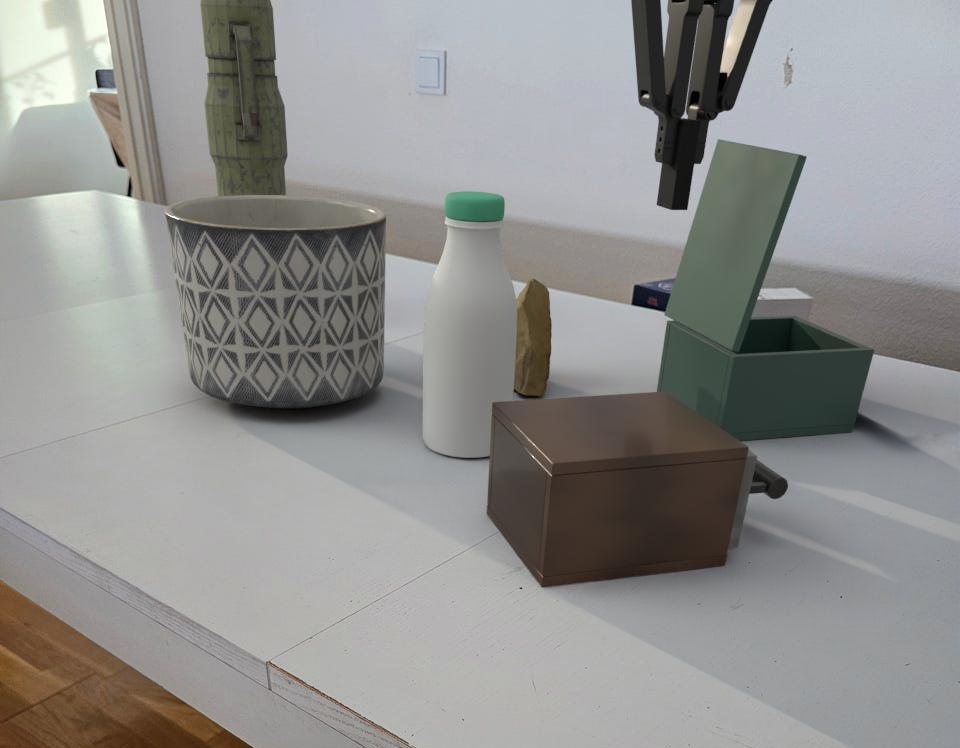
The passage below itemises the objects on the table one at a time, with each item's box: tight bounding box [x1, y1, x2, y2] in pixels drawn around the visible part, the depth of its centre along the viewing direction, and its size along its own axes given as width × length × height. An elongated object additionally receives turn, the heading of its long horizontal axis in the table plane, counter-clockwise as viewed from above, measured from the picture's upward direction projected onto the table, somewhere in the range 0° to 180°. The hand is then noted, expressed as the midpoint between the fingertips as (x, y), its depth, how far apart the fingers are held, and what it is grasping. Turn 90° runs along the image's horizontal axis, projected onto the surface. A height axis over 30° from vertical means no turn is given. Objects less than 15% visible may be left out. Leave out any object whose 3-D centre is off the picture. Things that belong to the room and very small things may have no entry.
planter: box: [164, 194, 387, 410], centre depth 87 cm, size 19×19×16 cm
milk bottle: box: [422, 190, 517, 459], centre depth 76 cm, size 8×8×20 cm
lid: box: [664, 138, 807, 352], centre depth 82 cm, size 15×13×1 cm
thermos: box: [199, 0, 289, 197], centre depth 108 cm, size 9×12×35 cm
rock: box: [514, 278, 553, 397], centre depth 95 cm, size 11×9×10 cm
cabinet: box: [486, 391, 750, 588], centre depth 65 cm, size 14×12×9 cm
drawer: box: [728, 449, 789, 550], centre depth 66 cm, size 17×10×7 cm, turn 108°
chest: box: [656, 315, 875, 442], centre depth 90 cm, size 15×13×8 cm
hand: (671, 207), depth 78 cm, fingers closed
